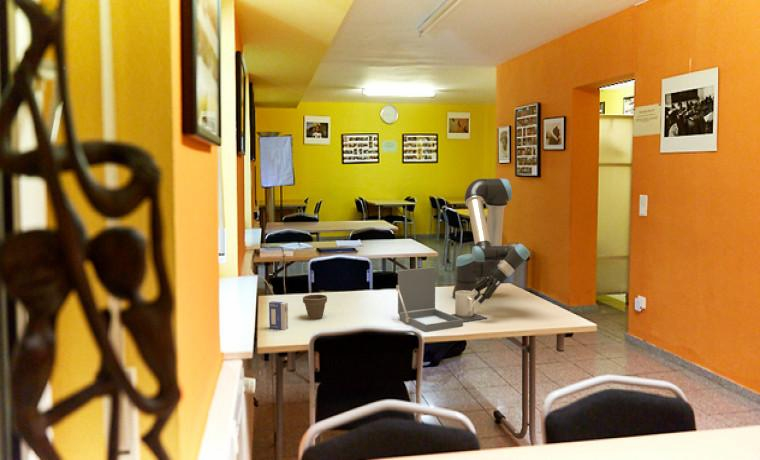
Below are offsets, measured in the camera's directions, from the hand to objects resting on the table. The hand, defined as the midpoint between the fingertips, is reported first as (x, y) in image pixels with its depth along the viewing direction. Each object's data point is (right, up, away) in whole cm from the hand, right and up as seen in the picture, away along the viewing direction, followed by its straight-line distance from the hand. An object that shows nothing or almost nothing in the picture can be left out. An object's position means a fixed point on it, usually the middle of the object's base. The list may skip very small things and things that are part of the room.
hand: (470, 303), depth 276 cm
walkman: (-87, -9, -17) cm, 89 cm away
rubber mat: (-2, -7, 0) cm, 7 cm away
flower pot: (-73, -7, +1) cm, 73 cm away
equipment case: (-19, -8, -9) cm, 23 cm away
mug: (-2, -6, 0) cm, 7 cm away
